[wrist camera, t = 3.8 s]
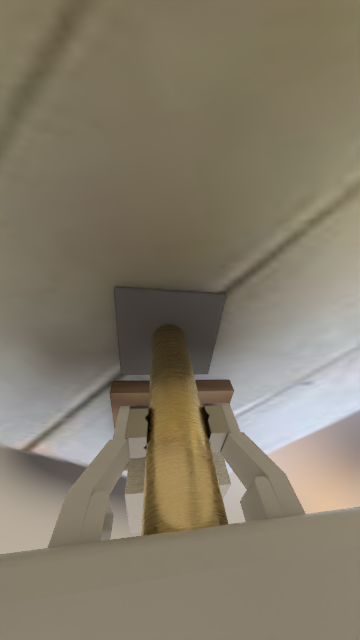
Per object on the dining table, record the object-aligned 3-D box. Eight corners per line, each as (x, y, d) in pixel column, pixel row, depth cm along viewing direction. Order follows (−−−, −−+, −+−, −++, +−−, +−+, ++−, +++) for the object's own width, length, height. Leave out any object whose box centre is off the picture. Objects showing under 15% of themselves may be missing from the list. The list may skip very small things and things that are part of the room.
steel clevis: (136, 405, 19) (124, 494, 12) (208, 403, 20) (230, 484, 14) (138, 467, 25) (131, 545, 19) (192, 463, 26) (202, 535, 20)
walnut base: (113, 381, 19) (109, 393, 17) (229, 379, 20) (234, 390, 19) (122, 458, 26) (120, 470, 25) (205, 452, 28) (207, 463, 27)
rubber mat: (115, 286, 14) (113, 288, 13) (224, 293, 15) (226, 295, 15) (122, 370, 18) (121, 374, 18) (206, 370, 19) (207, 374, 19)
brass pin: (152, 324, 15) (82, 1503, 1) (186, 325, 16) (428, 1205, 2) (152, 351, 17) (115, 1031, 3) (183, 351, 17) (294, 940, 3)
